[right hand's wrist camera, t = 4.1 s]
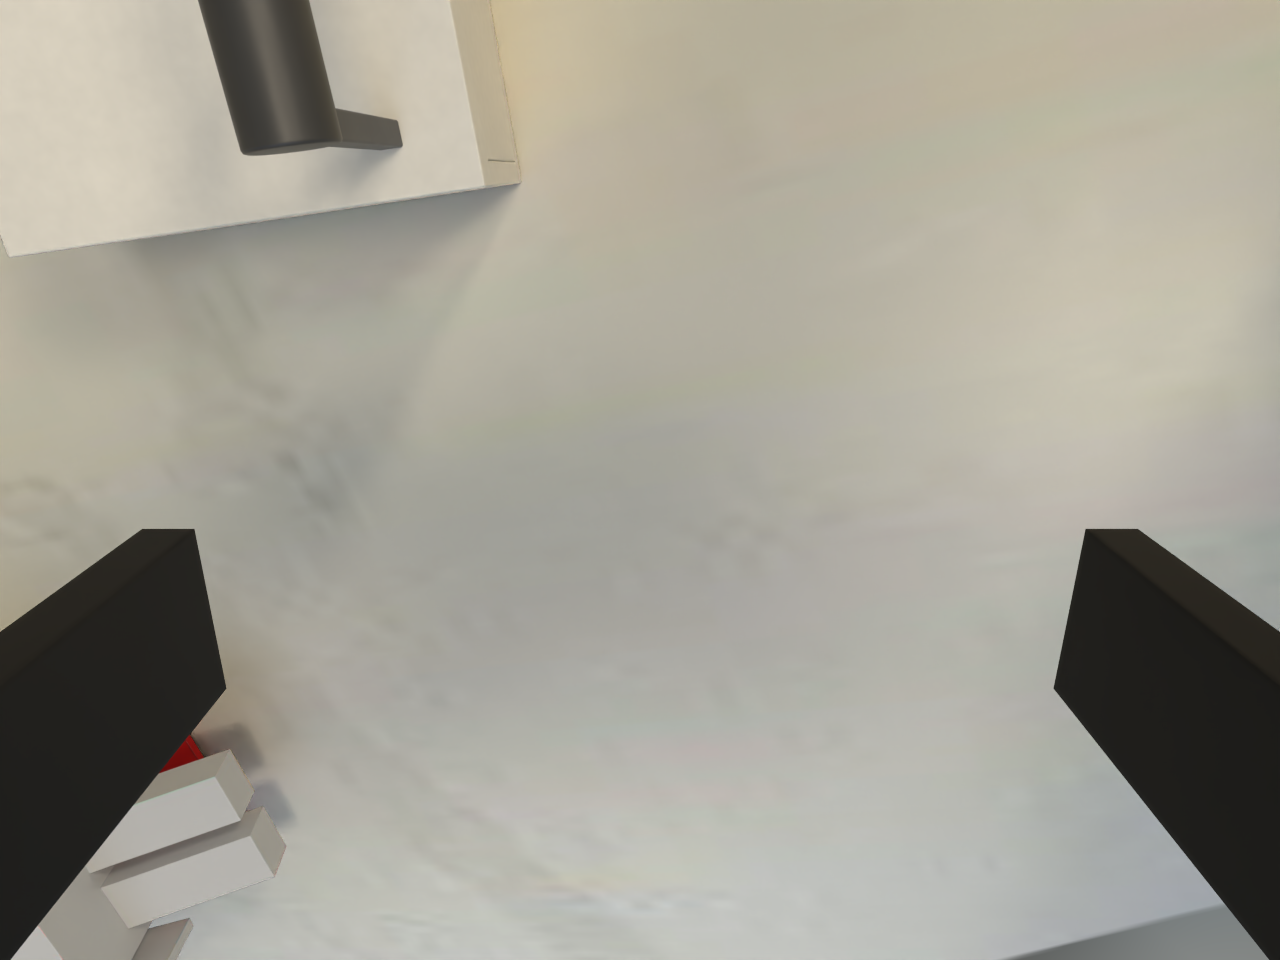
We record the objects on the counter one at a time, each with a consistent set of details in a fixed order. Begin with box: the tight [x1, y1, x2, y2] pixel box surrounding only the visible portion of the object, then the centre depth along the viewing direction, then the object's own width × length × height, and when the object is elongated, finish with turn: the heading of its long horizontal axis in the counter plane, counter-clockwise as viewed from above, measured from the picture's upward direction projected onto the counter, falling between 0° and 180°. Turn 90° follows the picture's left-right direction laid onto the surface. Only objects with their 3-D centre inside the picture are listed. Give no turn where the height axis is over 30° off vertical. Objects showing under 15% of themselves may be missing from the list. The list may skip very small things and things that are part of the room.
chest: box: [53, 0, 522, 252], centre depth 29 cm, size 13×10×11 cm
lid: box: [0, 0, 492, 258], centre depth 19 cm, size 14×10×9 cm
